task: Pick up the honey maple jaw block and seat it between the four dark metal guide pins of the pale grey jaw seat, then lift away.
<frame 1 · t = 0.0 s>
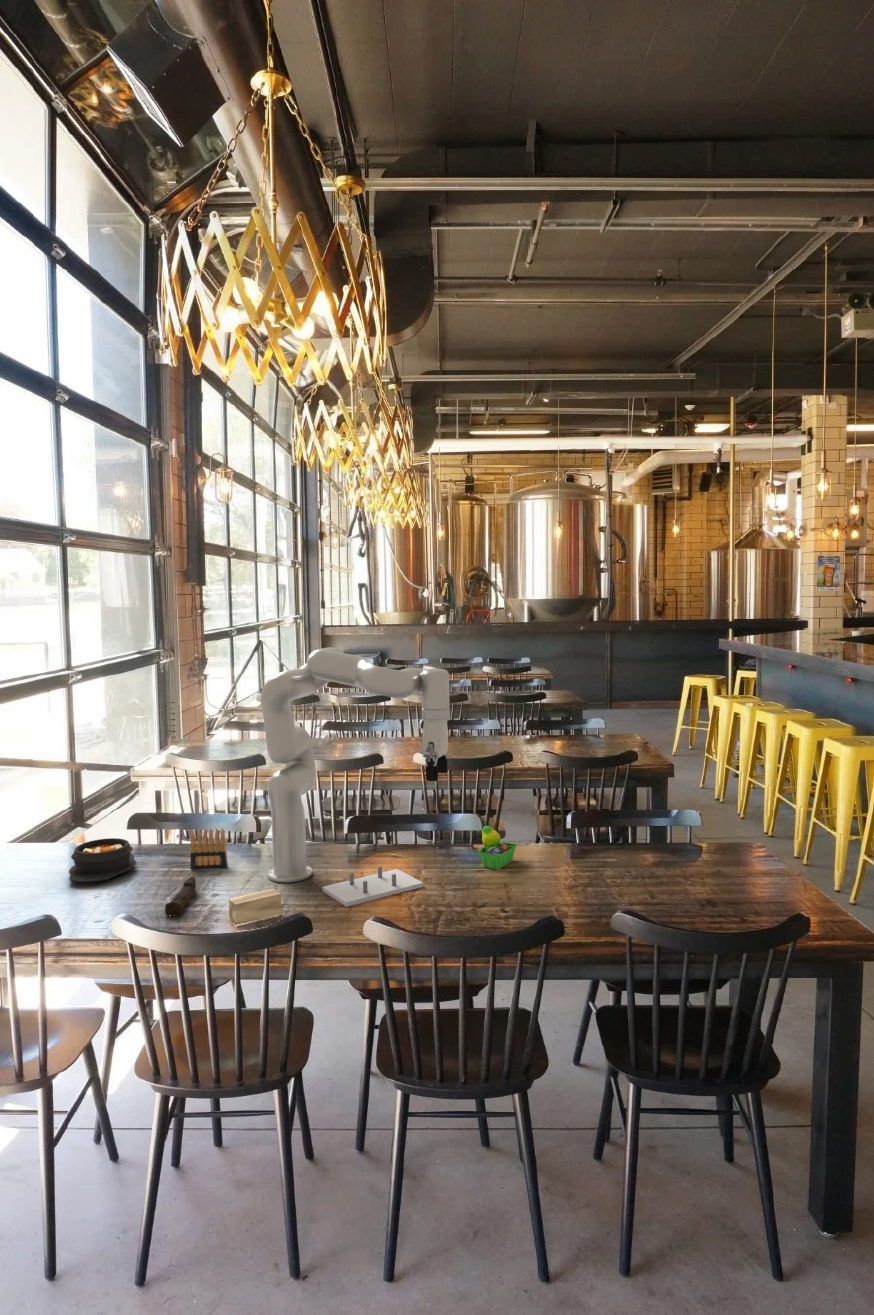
hand: (437, 776, 221), 31 cm above the table, tool pointing down, fingers open, 9 cm apart
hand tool: (182, 904, 217), on the table
jaw seat: (373, 888, 224), on the table
ammunition clip: (209, 868, 244), on the table
jaw block: (255, 919, 205), on the table
casserole: (103, 873, 242), on the table
fruit basket: (496, 864, 243), on the table
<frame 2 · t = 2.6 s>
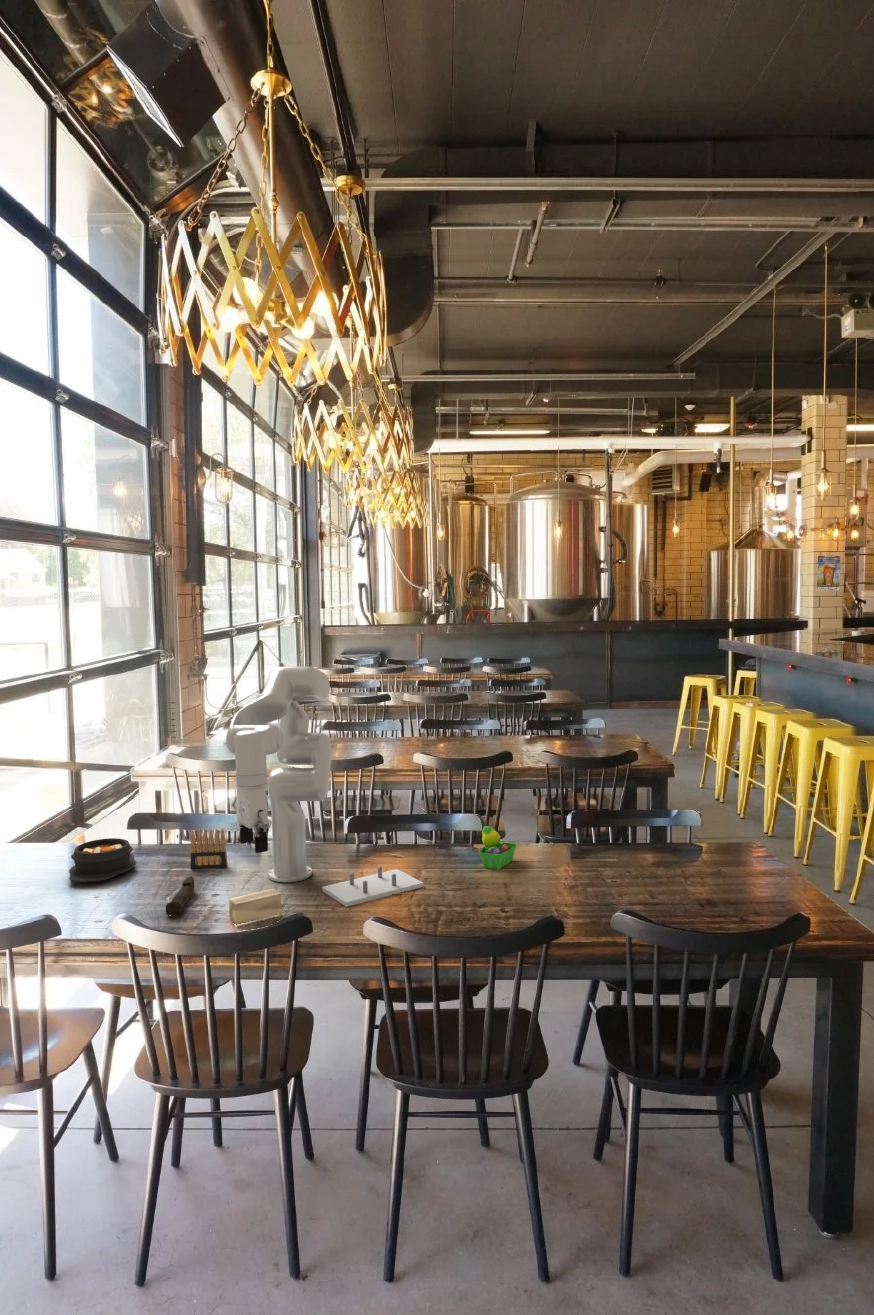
hand: (254, 847, 204), 18 cm above the table, tool pointing down, fingers open, 9 cm apart
nothing on the table moved.
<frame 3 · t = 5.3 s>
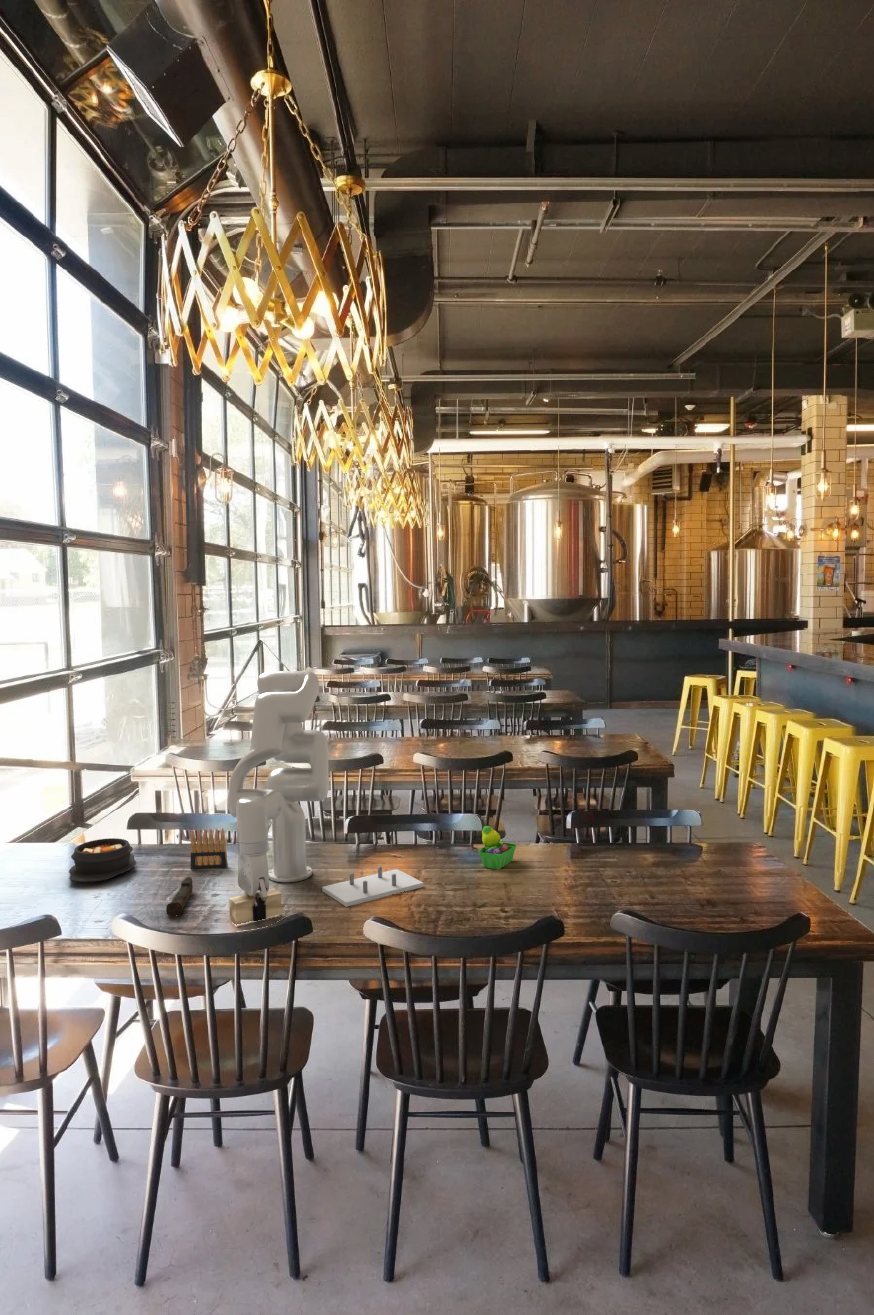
hand: (255, 916, 205), 1 cm above the table, tool pointing down, fingers closed on jaw block, 4 cm apart
jaw block: (256, 918, 205), on the table, touching gripper
everything else where it was.
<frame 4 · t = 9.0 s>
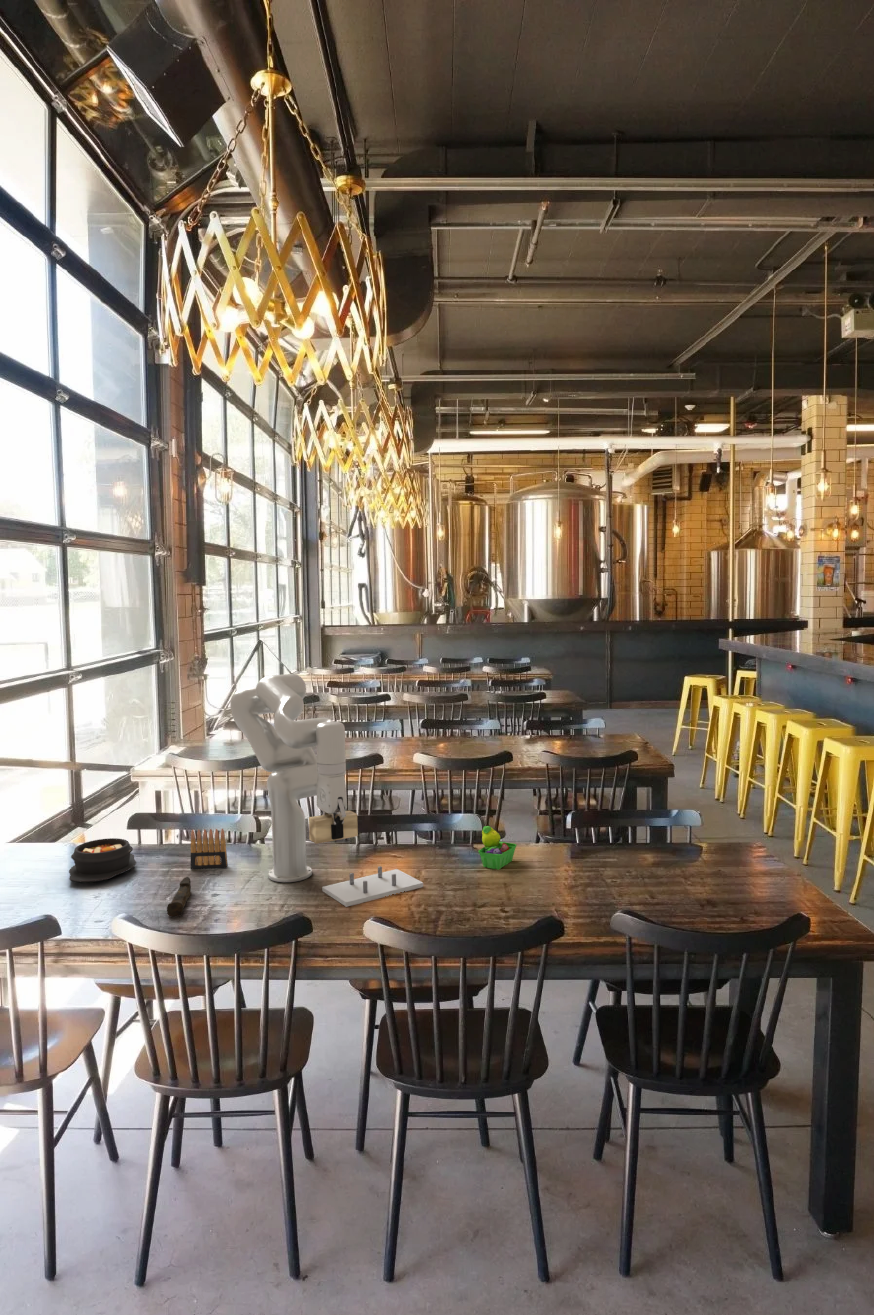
hand: (333, 835, 216), 17 cm above the table, tool pointing down, fingers closed on jaw block, 4 cm apart
jaw block: (333, 837, 216), point 17 cm above the table, touching gripper
everything else where it was.
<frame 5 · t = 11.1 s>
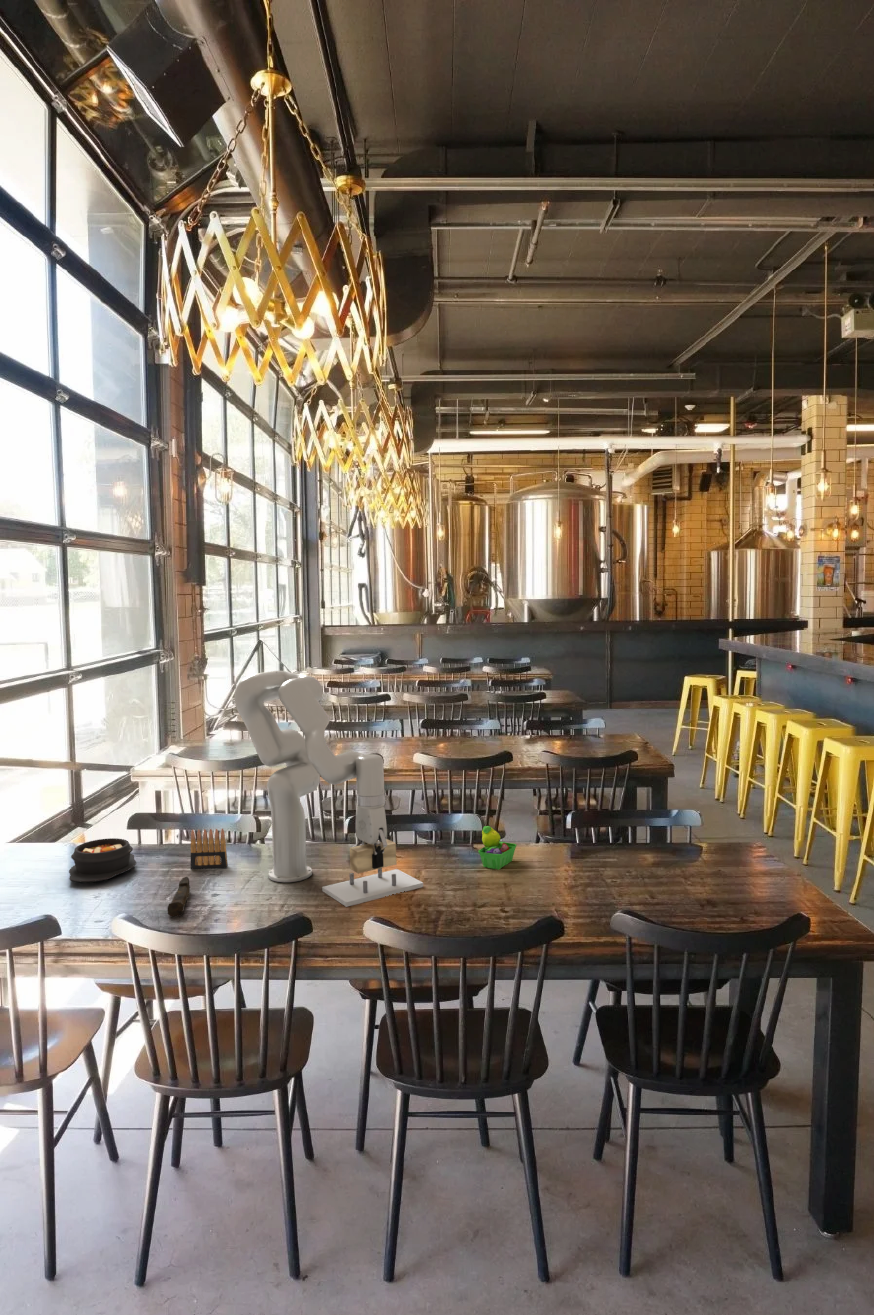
hand: (373, 864, 224), 7 cm above the table, tool pointing down, fingers closed on jaw block, 4 cm apart
jaw block: (373, 866, 224), point 6 cm above the table, touching gripper
everything else where it was.
when the fingers open (3 cm above the table, at t = 12.7 s): jaw block drops 1 cm, resting on jaw seat.
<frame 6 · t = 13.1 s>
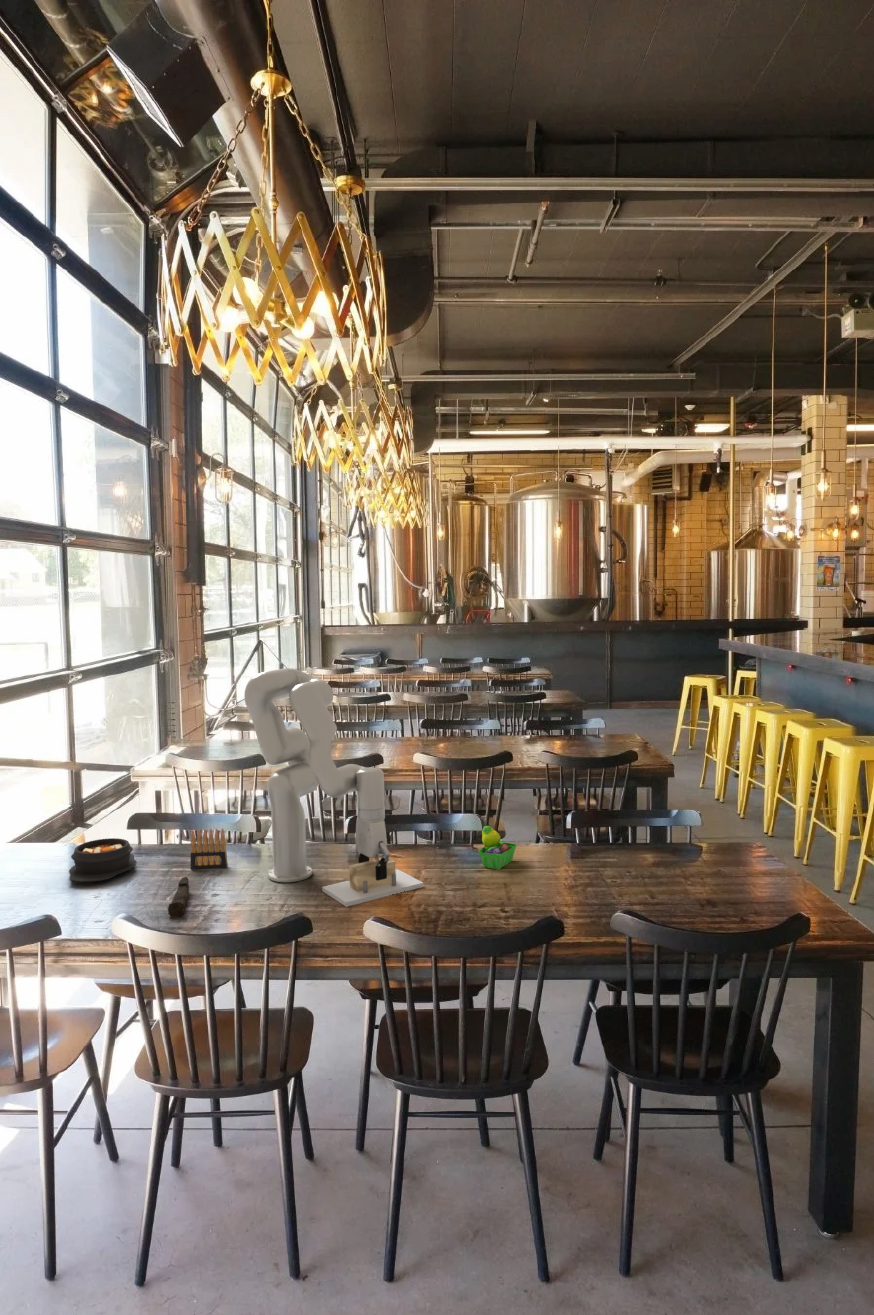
hand: (372, 874, 224), 4 cm above the table, tool pointing down, fingers open, 9 cm apart
jaw block: (372, 884, 224), point 1 cm above the table, touching jaw seat
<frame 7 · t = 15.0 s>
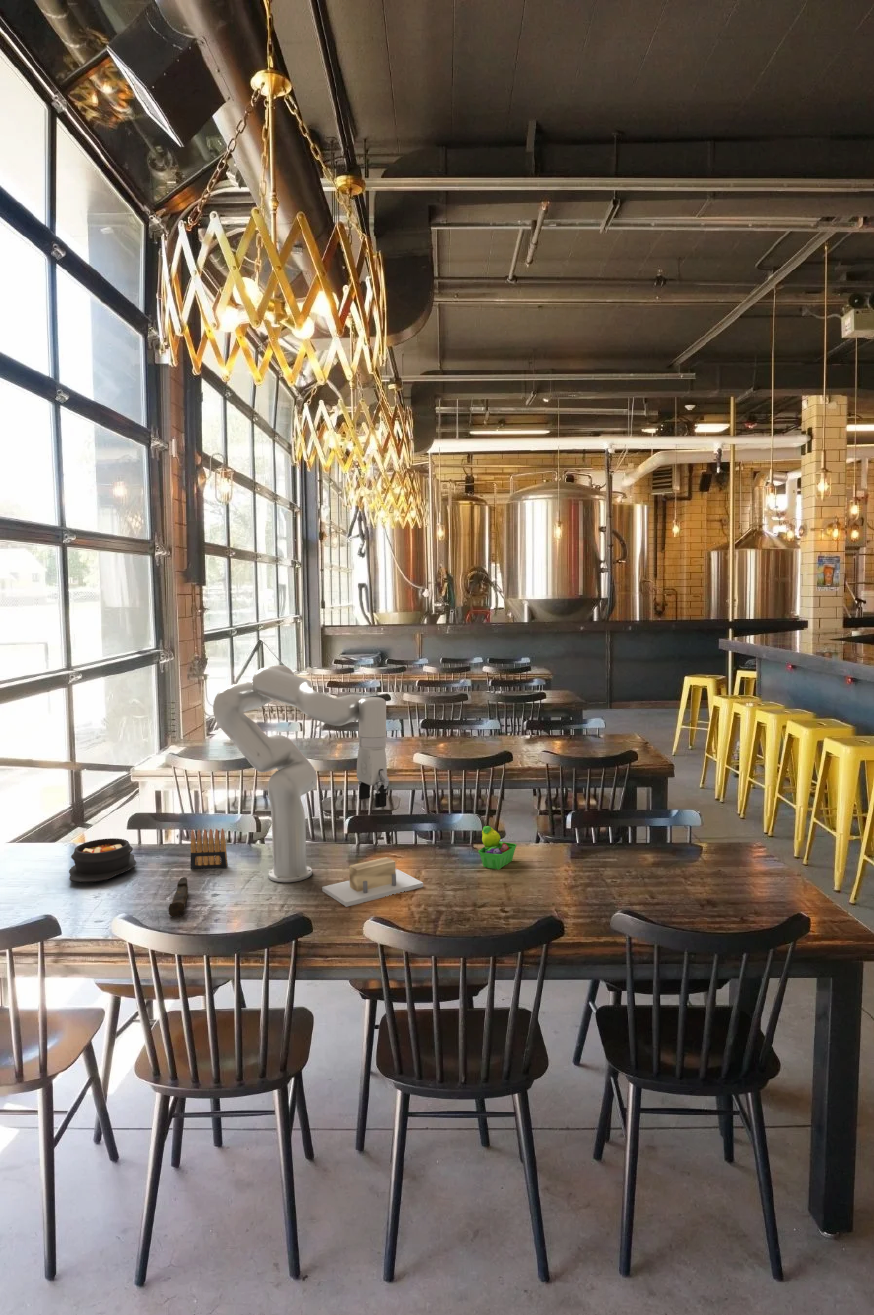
hand: (372, 802, 226), 23 cm above the table, tool pointing down, fingers open, 9 cm apart
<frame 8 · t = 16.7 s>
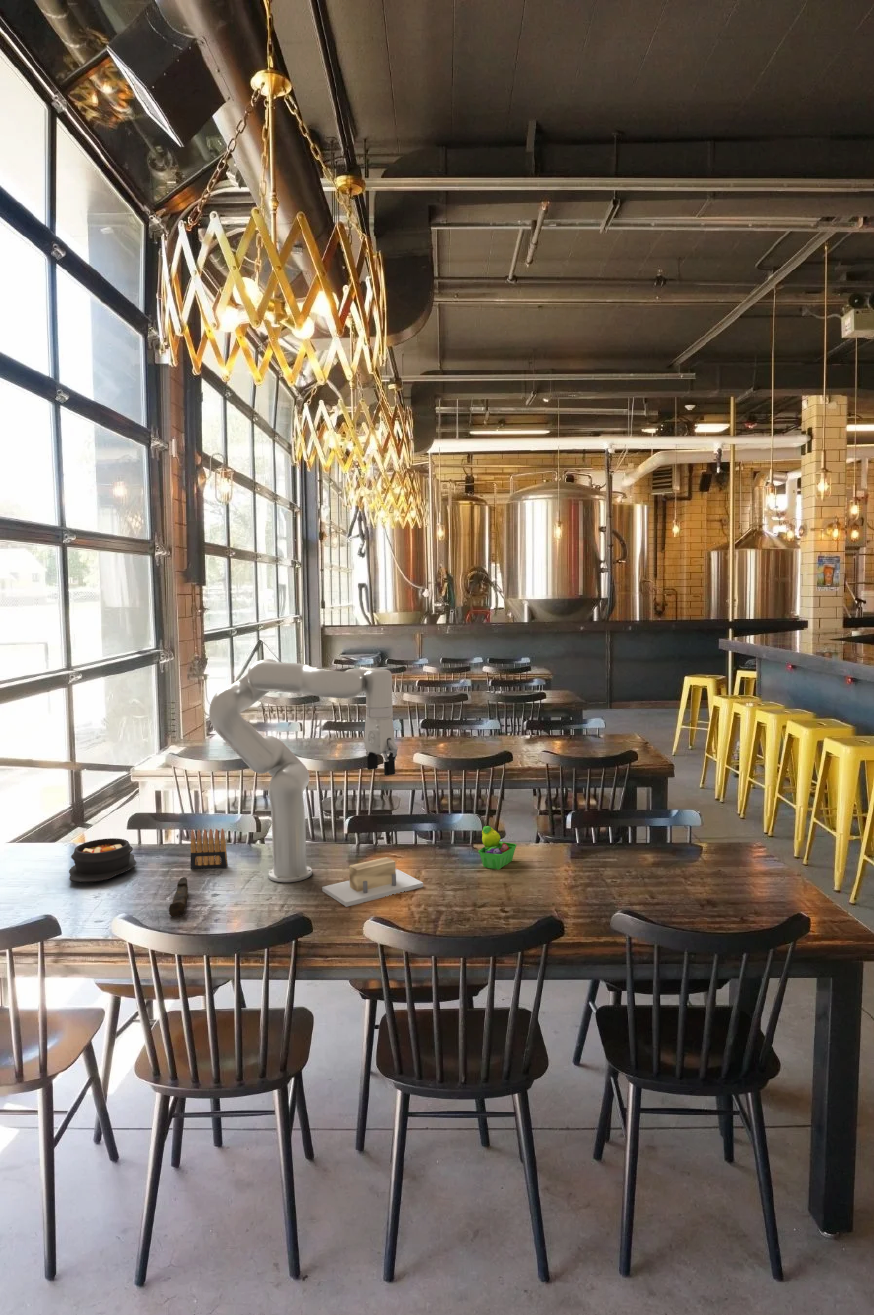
hand: (380, 771, 233), 30 cm above the table, tool pointing down, fingers open, 9 cm apart
nothing on the table moved.
at the end: jaw block 0.1 cm off-centre on the jaw seat, point 1.2 cm above the jaw seat's base; the gripper is holding nothing; jaw block tilted 0° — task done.
